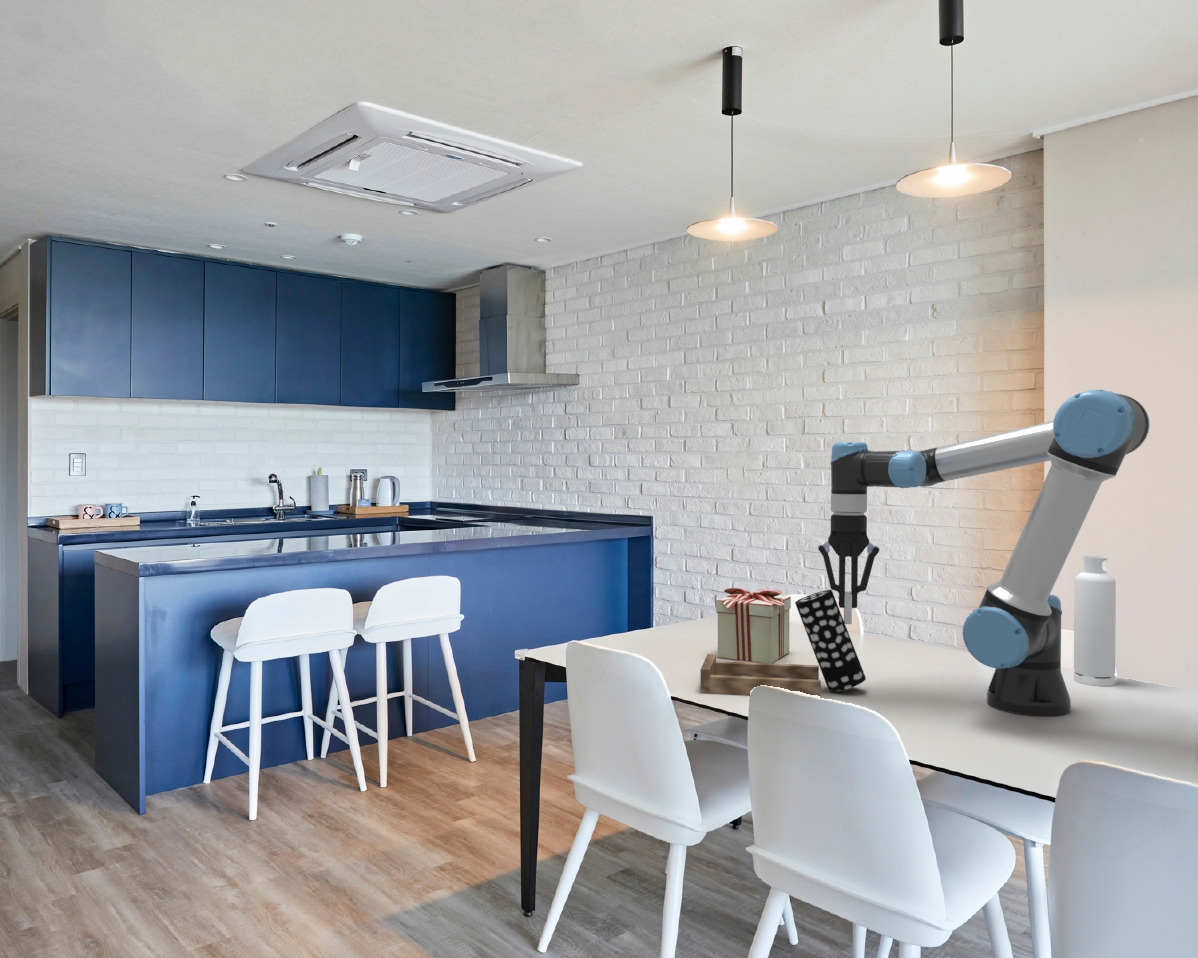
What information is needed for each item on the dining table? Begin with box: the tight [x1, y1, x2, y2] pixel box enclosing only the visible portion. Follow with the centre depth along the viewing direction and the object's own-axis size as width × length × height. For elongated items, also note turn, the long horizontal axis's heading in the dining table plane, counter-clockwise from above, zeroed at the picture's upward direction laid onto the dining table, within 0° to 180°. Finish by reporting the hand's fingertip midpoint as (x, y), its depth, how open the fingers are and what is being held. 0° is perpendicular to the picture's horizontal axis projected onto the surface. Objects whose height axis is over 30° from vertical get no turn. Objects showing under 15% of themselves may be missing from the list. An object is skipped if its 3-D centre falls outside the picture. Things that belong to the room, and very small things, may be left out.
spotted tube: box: [794, 589, 867, 692], centre depth 192 cm, size 8×8×20 cm
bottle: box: [1073, 555, 1117, 687], centre depth 199 cm, size 8×8×28 cm
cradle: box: [699, 653, 822, 697], centre depth 195 cm, size 25×16×5 cm, turn 78°
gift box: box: [715, 587, 792, 663], centre depth 226 cm, size 17×18×17 cm
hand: (847, 622), depth 191 cm, fingers closed
